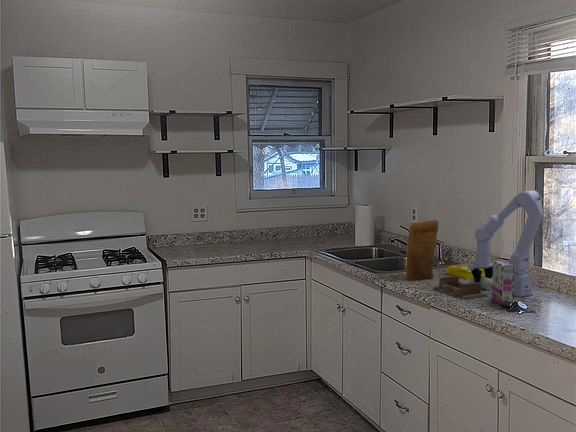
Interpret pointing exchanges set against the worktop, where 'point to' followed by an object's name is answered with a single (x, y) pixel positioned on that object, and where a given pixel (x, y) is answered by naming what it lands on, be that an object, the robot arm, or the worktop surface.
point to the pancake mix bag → (421, 250)
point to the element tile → (462, 271)
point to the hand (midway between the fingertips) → (482, 284)
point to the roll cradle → (460, 288)
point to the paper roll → (484, 282)
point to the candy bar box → (502, 282)
